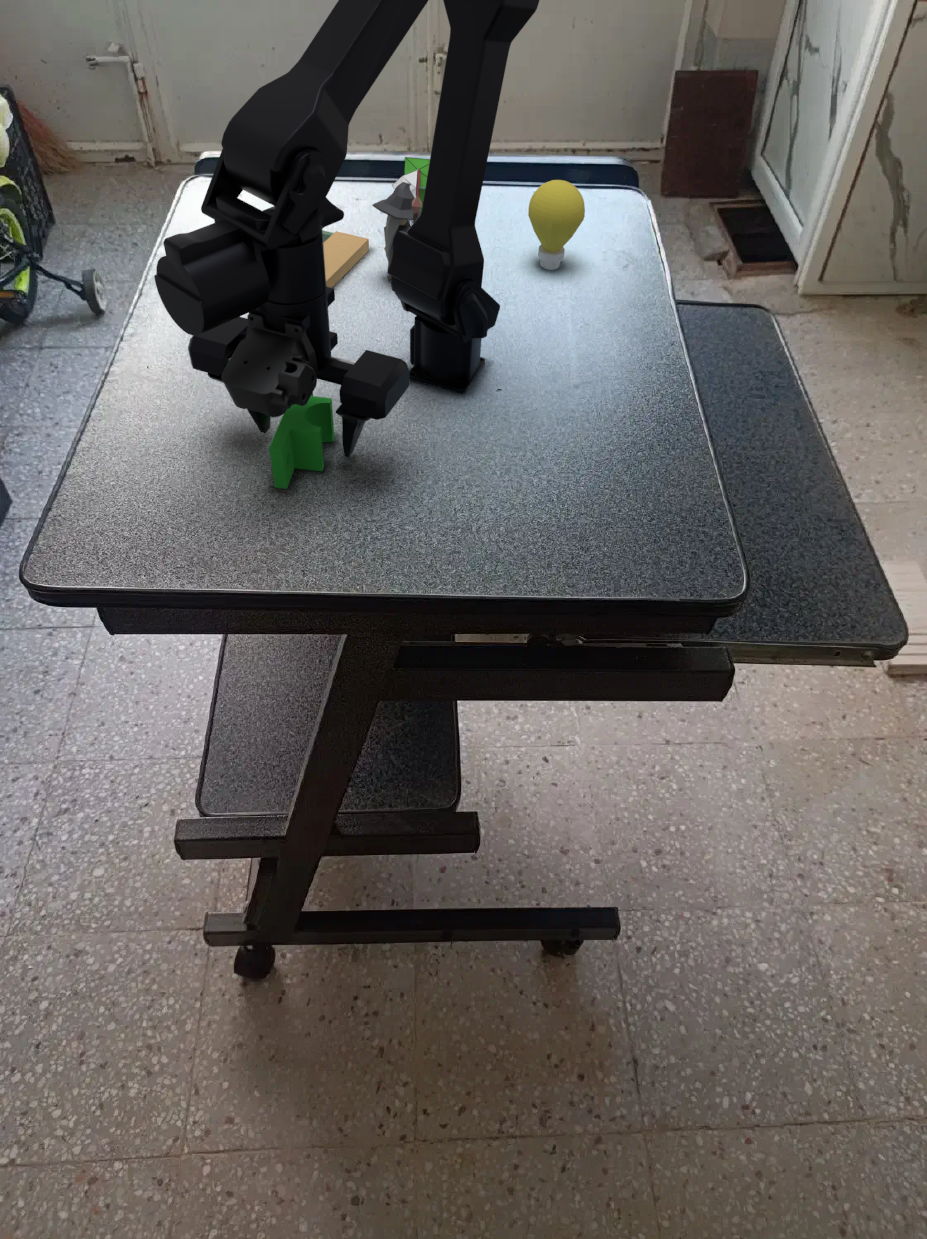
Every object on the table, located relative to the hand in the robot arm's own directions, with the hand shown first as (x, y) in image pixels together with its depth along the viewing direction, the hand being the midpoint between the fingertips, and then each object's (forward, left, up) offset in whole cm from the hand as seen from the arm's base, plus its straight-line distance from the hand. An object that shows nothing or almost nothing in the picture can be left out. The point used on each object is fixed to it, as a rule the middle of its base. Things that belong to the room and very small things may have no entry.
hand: (306, 442), depth 84 cm
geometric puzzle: (+10, -51, -1) cm, 52 cm away
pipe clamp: (0, 0, -1) cm, 1 cm away
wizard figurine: (+4, -33, -1) cm, 33 cm away
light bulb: (-10, -45, -1) cm, 46 cm away
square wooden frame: (+19, -31, -1) cm, 36 cm away
